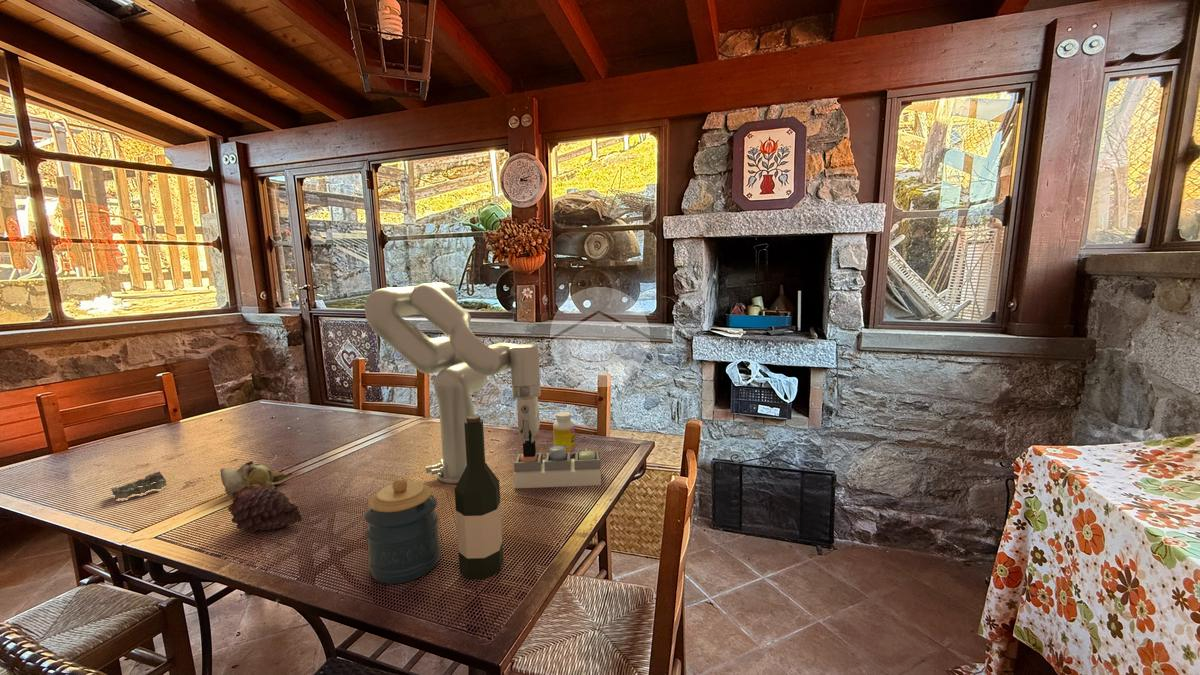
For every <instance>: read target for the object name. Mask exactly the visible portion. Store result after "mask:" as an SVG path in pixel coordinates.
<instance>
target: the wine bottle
mask: <svg viewBox="0 0 1200 675" xmlns="http://www.w3.org/2000/svg"><path fill="white" fill-rule="evenodd" d="M464 427H465V443H466V460H467V466H466V468H465V470H464V472H463V474H462V476H461V478H460V480H459V482H458V483H456V486H455V488H454V500H455V501H454V502H455V505H454V506H455V518H456V534H457V547H458V548H457V549H458V563H459V566H458V567H459V573H460V574H461V575H462V576H464V577H465V578H466V579H468V580H486V579H488V578H490V577H492V576H493V575H495V574H497V573H500V571H501V569H502V567H503V564H504V550H503V549H504V548H503V547H504V546H503V528H502V527H503V525H502V511H501V509H502V507H501V505H502V504H501V491H500V489H501V486H500V480H499V478H498V477H497V476H496V474H494V472H493V471H492V469H491V467H490V466H488V464H487V463H486V452H485V451H486V450H485V435H484V434H485V432H484V419H481V415H478V414H475V415H471V416H468V417H467V420H466V421H465V422H464Z"/></svg>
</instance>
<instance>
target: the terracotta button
mask: <svg viewBox="0 0 1200 675" xmlns="http://www.w3.org/2000/svg"><path fill="white" fill-rule="evenodd" d="M521 454H522V455H521V456H520V458H521V462H534V461H537V454H535V457H524V456H523V453H521Z"/></svg>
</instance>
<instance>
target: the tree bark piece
mask: <svg viewBox="0 0 1200 675" xmlns="http://www.w3.org/2000/svg"><path fill="white" fill-rule="evenodd" d="M153 482H156V483H153ZM151 483H153V484H151ZM138 486H143V487H138ZM164 486H167V479H166V478H165V477H164V475H163V474H162V473H161V471H156V472H153V473H150V474H148V475H146V476H145V477H144V478H139V479H137V480H136V481H133V482H128V483H126V484H123V485H121V486H118V487H117V486H116V487H112V488H110V490H111V492H112V496H113V495H115V498H116V499H118V498H127V497H128V496H130V495H132V494H141V493H145V492H146V491H148V490H151V489H161V488H162V487H164Z"/></svg>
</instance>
